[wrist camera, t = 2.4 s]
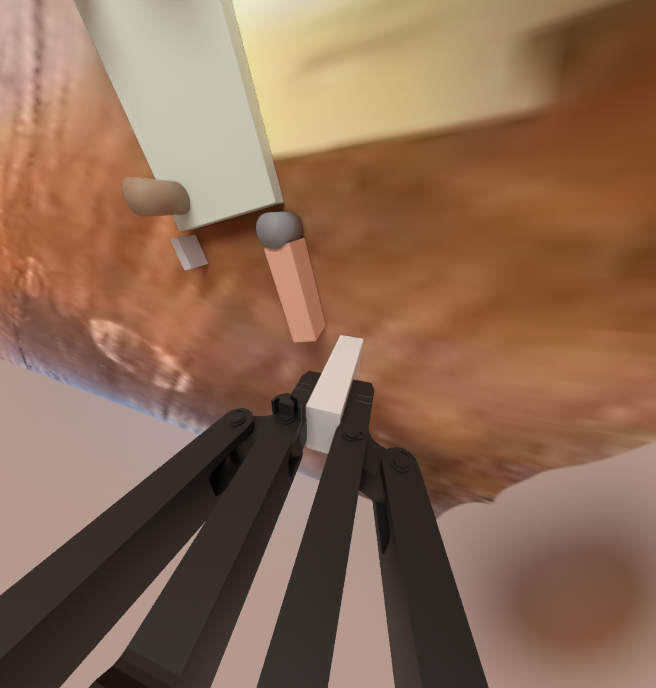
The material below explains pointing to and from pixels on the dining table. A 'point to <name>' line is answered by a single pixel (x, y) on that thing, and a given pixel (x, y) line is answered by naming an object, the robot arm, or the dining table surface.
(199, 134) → the pale board with pegs
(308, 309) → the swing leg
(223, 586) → the robot arm
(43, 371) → the dining table surface
